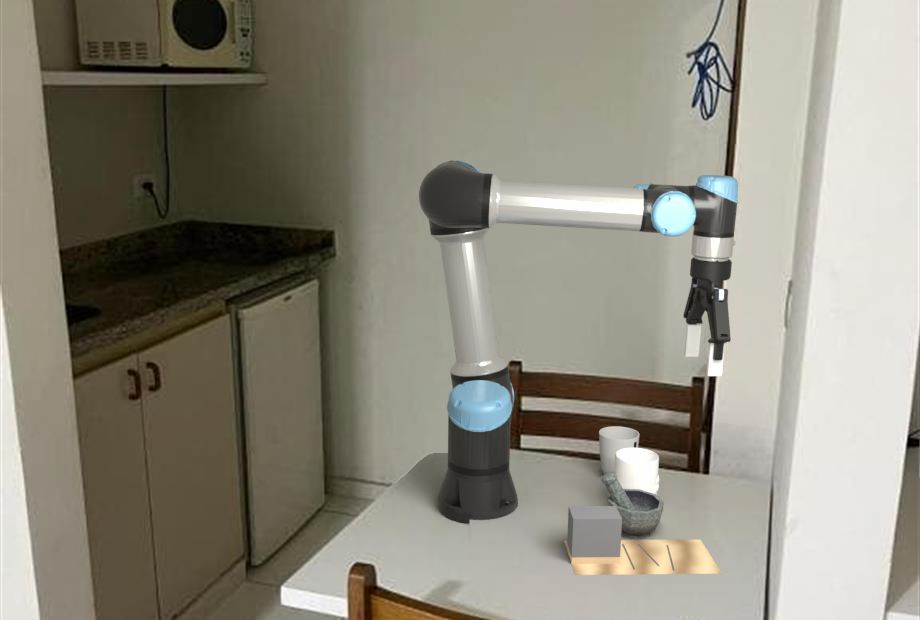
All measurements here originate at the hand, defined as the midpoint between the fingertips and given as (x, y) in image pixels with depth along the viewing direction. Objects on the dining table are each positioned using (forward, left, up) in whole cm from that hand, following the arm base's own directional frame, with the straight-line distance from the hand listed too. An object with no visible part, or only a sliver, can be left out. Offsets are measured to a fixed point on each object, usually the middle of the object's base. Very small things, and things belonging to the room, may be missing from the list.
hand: (702, 365), depth 179 cm
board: (-18, -30, -26) cm, 43 cm away
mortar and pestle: (-18, -20, -26) cm, 37 cm away
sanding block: (-26, -30, -25) cm, 47 cm away
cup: (-14, +6, -26) cm, 30 cm away
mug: (-15, -10, -26) cm, 31 cm away
